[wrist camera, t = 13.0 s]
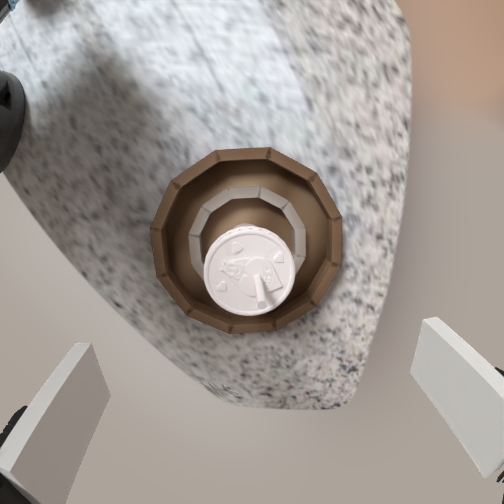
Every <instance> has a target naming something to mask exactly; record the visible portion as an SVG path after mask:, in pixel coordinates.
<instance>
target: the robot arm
mask: <svg viewBox="0 0 504 504" xmlns="http://www.w3.org/2000/svg"><path fill="white" fill-rule="evenodd" d="M18 1H19V0H0V23H1V22H2V21H3V20H4V18H5V17H6V16H7V15H8V13H9V12H10V11H13V10H14V9H15V5H16V4H17V3H18ZM24 111H25V101H24V93H23V89H22V86H21V83H20V82H19V80H18V79H17V77H16V76H14V75H13V74H11V73H8V72H5V71H1V70H0V173H1V172H2V171H3V170H4V168H5V167H6V166H7V164H8V163H9V161H10V159H11V157H12V155H13V153H14V151H15V149H16V146H17V144H18V141H19V138H20V134H21V130H22V126H23V120H24ZM410 374H411V375H412V376H413V378H414V379H415V380H416V381H417V383H418V384H419V386H420V387H421V388H422V390H423V391H424V392H425V394H426V395H427V396H428V398H429V399H430V400H431V402H432V403H433V404H434V406H435V407H436V409H437V410H438V411H439V413H440V414H441V415H442V417H443V418H444V420H445V421H446V422H447V424H448V425H449V427H450V428H451V430H452V431H453V432H454V434H455V435H456V437H457V438H458V440H459V441H460V443H461V444H462V446H463V447H464V449H465V450H466V451H467V453H468V454H469V456H470V457H471V459H472V460H473V462H474V463H475V465H476V466H477V468H478V470H479V471H480V473H481V474H482V476H483V477H484V478H486V477H488V476H489V475H491V474H492V473H494V472H495V471H497V470H498V469H499V468H500V467H501V466H502V465H503V464H504V371H502V370H500V369H498V368H497V367H495V368H494V367H493V366H492V365H490V364H489V363H488V362H487V361H486V360H485V359H484V358H483V357H482V356H481V355H480V354H479V353H477V352H476V351H475V350H474V349H473V348H472V347H471V346H470V345H469V344H468V343H466V342H465V341H464V340H463V339H462V338H461V337H460V336H459V335H457V334H456V333H455V332H454V331H453V330H452V329H451V328H449V327H448V326H447V325H446V324H445V323H444V322H443V321H441V320H440V319H439V318H438V317H432V318H428V319H423V321H422V326H421V330H420V335H419V339H418V343H417V347H416V351H415V355H414V359H413V362H412V366H411V370H410ZM110 396H111V395H110V393H109V390H108V387H107V385H106V382H105V380H104V377H103V375H102V372H101V369H100V366H99V364H98V361H97V358H96V355H95V352H94V349H93V346H92V344H91V343H79V342H76V343H75V344H74V345H73V347H72V348H71V349H70V351H69V352H68V353H67V354H66V356H65V357H64V358H63V360H62V361H61V362H60V364H59V365H58V366H57V367H56V369H55V370H54V371H53V373H52V374H51V375H50V377H49V378H48V380H47V381H46V382H45V384H44V385H43V386H42V388H41V389H40V390H39V392H38V393H37V395H36V396H35V397H34V399H33V400H32V402H31V403H30V404H29V406H23V407H22V408H21V409H20V410H18V411H17V412H16V413H15V414H14V415H13V416H12V418H11V419H10V421H9V422H8V425H6V427H5V428H4V430H3V433H1V434H0V504H65V503H66V500H67V498H68V495H69V492H70V490H71V487H72V484H73V482H74V479H75V477H76V474H77V472H78V469H79V467H80V465H81V462H82V460H83V457H84V455H85V452H86V450H87V448H88V445H89V443H90V441H91V438H92V436H93V434H94V432H95V429H96V427H97V425H98V423H99V420H100V418H101V416H102V414H103V411H104V409H105V407H106V405H107V403H108V401H109V398H110ZM503 477H504V471H503V472H502V473H501V474H500V476H499V477H498V480H497V482H499V481H500V480H501V479H502V478H503ZM502 483H504V480H503V481H502ZM502 504H504V495H503V501H502Z"/></svg>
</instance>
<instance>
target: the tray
mask: <svg viewBox="0 0 504 504" xmlns="http://www.w3.org/2000/svg"><path fill="white" fill-rule="evenodd" d="M244 223H248V224H252V225H255V226H256V227H260V228H264V229H267V230H269V231H271V232H273V233H275V234H276V235H277V236H279V237H280V238H281V239H282V240H283V241H284V242H285V243H286V245H287V247H288V248H289V250H290V252H291V255H292V257H293V260H294V264H295V280H294V284H293V287H292V289H291V291H290V293H289V295H288V296H287V297H286V299H285V300H284V301H283V302H282V303H281V304H280V305H279V306H277V307H276V308H274V309H273V310H271V311H269V312H266V313H264V314H260V315H254V316H244V315H238V314H234V313H231V312H229V311H227V310H225V309H224V308H222V307H221V306H219V305H218V304H217V303H216V302H215V301H214V300H213V299H212V297H211V296H210V294H209V292H208V290H207V288H206V285H205V281H204V263H205V258H206V255H207V253H208V251H209V249H210V247H211V245H212V244H213V243H214V242H215V241H216V240H217V239H218V238H219V237H220V236H221V235H223V234H224V233H226V232H228V231H229V230H232V229H233V228H234V227H236V226H237V225H240V224H244ZM150 231H151V239H152V247H153V255H154V262H155V269H156V275H157V278H158V279H159V281H160V282H161V283H162V285H163V286H164V287H165V289H166V290H167V291H168V292H169V294H170V295H171V296H172V298H173V299H174V300H175V301H176V303H177V304H178V305H179V307H180V308H181V309H182V310H183V312H184V313H185V314H186V315H188V316H190V317H192V318H194V319H197V320H199V321H201V322H203V323H206V324H208V325H210V326H213V327H215V328H217V329H220V330H222V331H224V332H227V333H229V334H232V333H249V332H264V331H277V330H278V329H280V328H281V327H283V326H285V325H287V324H288V323H290V322H292V321H293V320H295V319H297V318H298V317H300V316H302V315H303V314H305V313H307V312H308V311H310V310H312V309H313V308H315V307H316V306H317V305H318V303H319V302H320V300H321V298H322V297H323V295H324V293H325V292H326V290H327V289H328V287H329V285H330V284H331V282H332V280H333V279H334V277H335V275H336V273H337V272H338V270H339V268H340V267H341V252H342V216H341V214H340V212H339V210H338V209H337V207H336V205H335V203H334V201H333V200H332V198H331V196H330V194H329V193H328V191H327V189H326V187H325V186H324V184H323V182H322V181H321V179H320V177H319V176H318V174H317V173H316V172H314V171H313V170H311V169H309V168H307V167H306V166H304V165H302V164H300V163H298V162H297V161H295V160H293V159H291V158H289V157H287V156H286V155H284V154H282V153H280V152H278V151H276V150H274V149H272V148H271V147H267V148H243V149H226V150H215V151H214V152H212V153H210V154H209V155H207V156H206V157H205V158H203V159H202V160H200V161H199V162H197V163H196V164H194V165H193V166H191V167H190V168H188V169H187V170H186V171H184V172H183V173H181V174H180V175H179V176H177V177H176V178H174V179H173V180H172V181H171V182H170V184H169V186H168V188H167V191H166V193H165V195H164V197H163V200H162V202H161V204H160V206H159V209H158V211H157V213H156V216H155V218H154V220H153V223H152V225H151V228H150Z"/></svg>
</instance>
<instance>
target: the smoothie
mask: <svg viewBox="0 0 504 504" xmlns="http://www.w3.org/2000/svg"><path fill="white" fill-rule="evenodd" d="M294 280H295V264H294V260H293V257H292V255H291V252H290V250H289V248H288V247H287V245H286V243H285V242H284V241H283V240H282V239H281V238H280V237H279V236H277V235H276V234H275V233H273V232H271V231H269V230H267V229H264V228H260V227H256V226H255V225H252V224H248V223H244V224H240V225H237V226H236V227H234V228H233V229H232V230H229V231H228V232H226V233H224V234H223V235H221V236H220V237H219V238H218V239H217V240H216V241H215V242H214V243H213V244H212V245H211V247H210V249H209V251H208V253H207V255H206V258H205V263H204V281H205V285H206V288H207V290H208V292H209V294H210V296H211V297H212V299H213V300H214V301H215V302H216V303H217V304H218V305H219V306H221V307H222V308H224V309H225V310H227V311H229V312H231V313H234V314H238V315H244V316H254V315H260V314H264V313H266V312H269V311H271V310H273V309H274V308H276V307H277V306H279V305H280V304H281V303H282V302H283V301H284V300H285V299H286V297H287V296H288V295H289V293H290V291H291V289H292V287H293V284H294Z"/></svg>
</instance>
